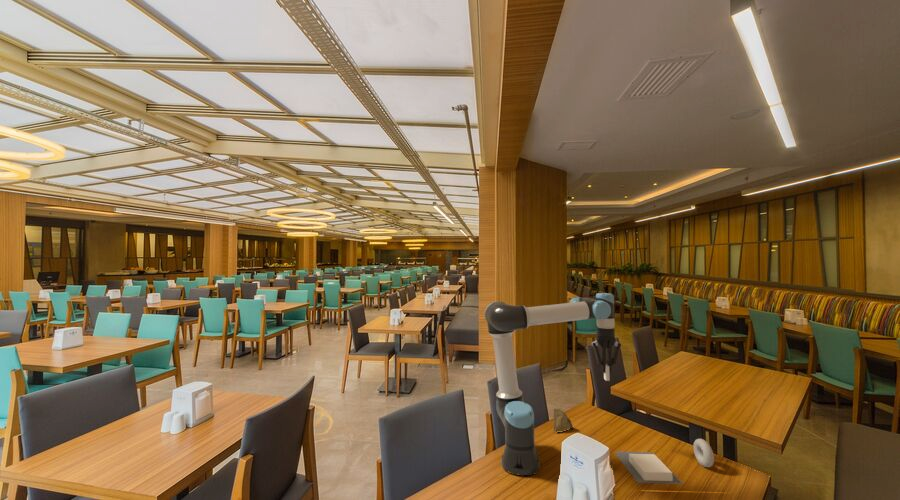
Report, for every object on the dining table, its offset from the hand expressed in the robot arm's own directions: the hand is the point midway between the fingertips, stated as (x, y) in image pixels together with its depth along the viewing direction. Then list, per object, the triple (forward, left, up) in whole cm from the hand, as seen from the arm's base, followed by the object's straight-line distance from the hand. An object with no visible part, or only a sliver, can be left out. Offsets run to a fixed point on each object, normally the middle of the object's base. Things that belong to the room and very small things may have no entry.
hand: (606, 379), depth 160 cm
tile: (+17, -2, -26) cm, 31 cm away
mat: (+19, -4, -29) cm, 35 cm away
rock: (-21, -6, -29) cm, 36 cm away
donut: (+30, +17, -29) cm, 45 cm away
